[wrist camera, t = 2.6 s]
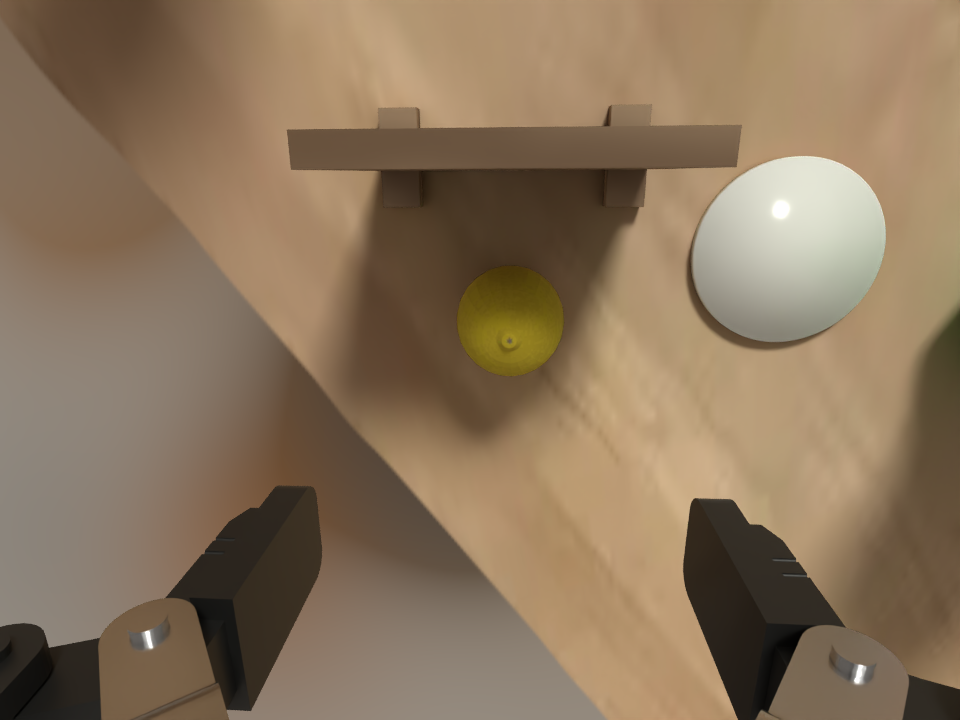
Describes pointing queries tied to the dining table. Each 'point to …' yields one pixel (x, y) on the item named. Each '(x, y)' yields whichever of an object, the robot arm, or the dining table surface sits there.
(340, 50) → the dining table surface
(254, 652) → the robot arm
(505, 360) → the lemon
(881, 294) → the dining table surface
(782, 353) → the dining table surface
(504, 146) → the walnut screen
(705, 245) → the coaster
